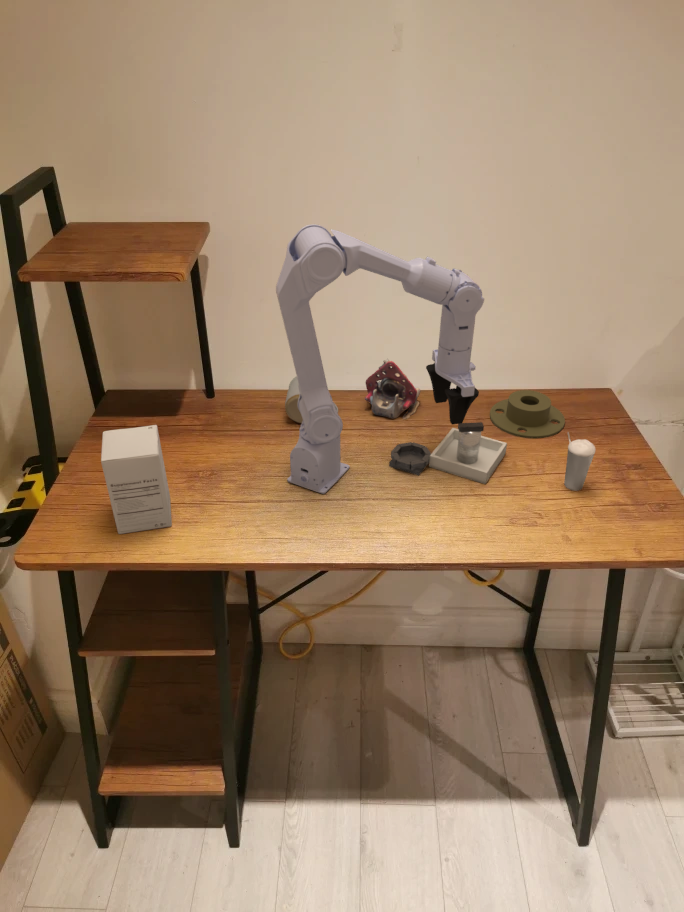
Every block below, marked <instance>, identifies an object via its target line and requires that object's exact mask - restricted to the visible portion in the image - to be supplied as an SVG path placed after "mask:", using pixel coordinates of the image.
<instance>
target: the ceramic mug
mask: <svg viewBox="0 0 684 912" xmlns="http://www.w3.org/2000/svg"><path fill="white" fill-rule="evenodd" d="M298 385H299V383H298V379H297V375H296V376H295V377H294V378H292V380H291V381H290V383H289V385H288V389H287V393H286V398H285V402H284V408H285V413H286V415H287V417H288V418H289V419H290V420H292V421H294V422H296V423H299V424H302V421H303V418H302V415H301V413H300V411H299V409H298V399H299V395H300V392H299V387H298ZM333 404H334V406H335V408H336V410H337V413H338V414H339V408H338V406H337V404H336V403H335V402H334V401H333Z"/></svg>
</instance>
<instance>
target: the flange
mask: <svg viewBox="0 0 684 912" xmlns="http://www.w3.org/2000/svg"><path fill="white" fill-rule="evenodd" d="M500 412H502V413H500ZM489 418H490V421H491V422H492V424H493V425H494V426H495V427H496V428H497V429H499V430H500V431H502V432H504V433H505V434H509V435H511V436H514V437H519V438H523V439H544V438H549V437H550V438H551V437H552V436H555V435H557V434H559V433H560V432H562V430H563V429H564V427H565V423H566V419H565V416H564V414H563V413H562V411H560V409H558V408H557V407H555V406H554V405H553V404H552V401H551V399H550V397H549V396H548V395H546V394H544V393H542V392H539V391H537V390H531V389H521V390H520V389H519V390H516V391H513V392H512V393H510V394H509V396H508V398H507V399H503V400H500V401H498V402H496V403H495V404H494V405H492V407H491V408H490V411H489ZM553 422H555V423H553ZM520 430H522V431H525V432H521V431H520Z"/></svg>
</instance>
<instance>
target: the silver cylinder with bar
mask: <svg viewBox="0 0 684 912" xmlns="http://www.w3.org/2000/svg"><path fill="white" fill-rule="evenodd" d="M484 426H485V425H484V423H483V422H482V421H480V422H462V423H460V424H457V429H458V430H459V438H458V447H457V456H456V458H457V460H458V461H459V462H461V463H463V464H474V463H476V462H477V461H478V455H479V447H480V439H481V436H482V432H484V429H485V428H484Z"/></svg>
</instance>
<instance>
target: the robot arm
mask: <svg viewBox="0 0 684 912" xmlns="http://www.w3.org/2000/svg"><path fill="white" fill-rule="evenodd" d="M330 231H331V233H332V234H331V233H330V232H329V230H328V228H326V227H324V226H322V225H319V224H315V223H314V224H307V225H304V226H303V227H301V228H300V229H299V230H298V231H297V232H296V233H295V234H294V236H293V237H292V238H291V239H290V240H289V242H288V243H287V247H286V254H285V257H284V261H283V264H282V267H281V270H280V272H279V275H278V279H277V282H276V285H275V293H276V297H277V301H278V304H279V305H278V306H279V310H280V314H281V318H282V320H283V325H284V329H285V333H286V337H287V341H288V342H287V343H288V346H289V349H290V354H291V358H292V359H291V360H292V363H293V366H294V369H295V374H296V376H297V379H298V383H299V385H298V387H299V392H300V395H299V399H298V409H299V411H300V413H301V415H302V418H303V421H302V423H300V427H299V435H298V440H297V442H296V445H295V446H294V447H293V448H292V449H291V451H290V454H289V461H290V463H289V464H290V466H289V467H290V476H289V477H287V478H286V481H287V482H288V483H291V484H293V485H297V486H299V487H302V488H304V489H308V490H311V491H314V492H316V493H319V494H322V495H325V494H326V493H327V492H328V491H329V490H331V488H332V487H333V486H334V485H335V484H336V483H337V482H338V481H339V480H340V479H341V478H342V477H343V475H344V474H345V473H346V472H347V471H349V469H350V465H349V464H346V463H344V462H341V433H342V431H343V427H344V426H343V425H344V424H343V419H342V418H341V416H340V415H339V412H338V413H337V410H336V408H335V406H334V404H333V402H334V401H333V398H332V395H331V393H330V391H329V387H328V384H327V379H326V374H325V370H324V365H323V360H322V357H321V356H322V355H321V351H320V347H319V342H318V338H317V333H316V329H315V324H314V319H313V315H312V310H311V306H310V301H311V299H313V298H314V296H315V295H316V294H317V293H318V292H319V291H321V290H323V289H324V288H326V287H327V286H329V285H330V284H331V283H333V282H335V281H336V280H337V279H339V277H340V276H341V275H342V273H343V274H344V276H346V277H347V276H349V275H351V274H353V273H355V272H356V271H357V270H359V269H360V270H364V271H368V272H370V273H374V274H377V275H380V276H383V277H386V278H389V279H392V280H395V281H397V282H401V284H402V288H403V291H404V292H406V293H408V294H410V295H412V296H415V297H418V298H421V299H424V300H426V301H428V302H431V303H434V304H437V305H440V306H441V315H440V322H439V323H440V326H439V334H438V335H439V337H438V347H437V349H433V350H432V355H431V356H432V357H431V359H432V361H433V363H431V364H427V365H426V366H425V369H426V370H427V373H428V376H429V379H430V382H431V387H432V393H433V399H434V403H435V404H440V403H441V404H443V403H446V402H447V401H448V406H449V407H448V408H449V409H448V411H449V421H450V422H449V423H450V424H451V425H453V426H454V425H458V424H460V423H464V420H465V417H466V416H467V413H468V412H469V411H468V410H469V408H470V407H471V405H472V404H473V402H474V401H475V400H476V399H477V398H478V397H479V396H480V395H479V394H480V393H479V390H478V389H477V388H476V386H475V384H474V383H473V377H472V375H473V374H472V371H475V370H476V365H475V364H474V363H473V362H471V357H472V350H473V342H474V333H475V332H474V331H475V324H476V315H477V314H478V312H479V311H480V310H481V308H482V307H483V305H484V302H485V298H484V297H483V290H482V288H480V285H479V284H477V282H475V281H474V280H473V278H471V277H470V276H469V275H468V274H466V273H465V272H463V270H461V269H459V268H458V269H456V268H452V269H449V268H447V267H444V266H442V265H439V264H437V261H436V260H435V259H434V258H433V257H430V256H426V258H422V257H415V258H412V259H410V260H406V259H403V258H400V257H399V256H397V255H394V254H391V253H390V252H388V251H386V250H384V249H382V248H379V247H376V246H375V245H372V244H369V243H367V242H365V241H363V240H360V239H358V238H356V237H354V236H352V235H349V234H347V233H345V232H342V231H340V230H336V229H331V228H330ZM452 384H453V385H455V386H456V387H454V388H451V386H452Z"/></svg>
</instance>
